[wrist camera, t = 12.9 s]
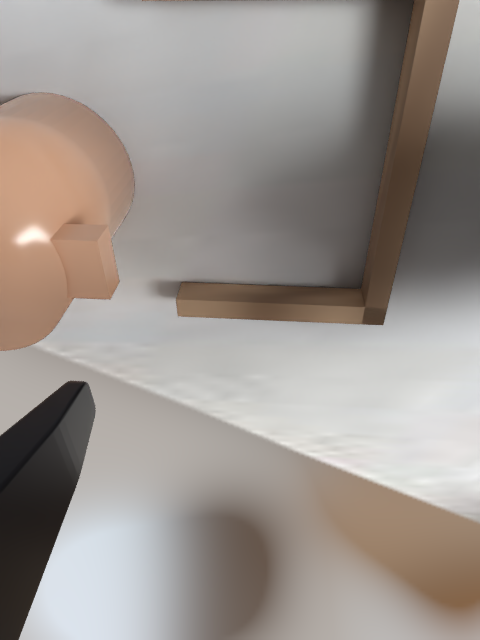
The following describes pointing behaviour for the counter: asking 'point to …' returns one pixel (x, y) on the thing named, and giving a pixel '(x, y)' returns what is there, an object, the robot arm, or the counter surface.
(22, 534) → the robot arm
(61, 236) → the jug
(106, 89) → the counter surface
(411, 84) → the cradle
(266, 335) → the counter surface
